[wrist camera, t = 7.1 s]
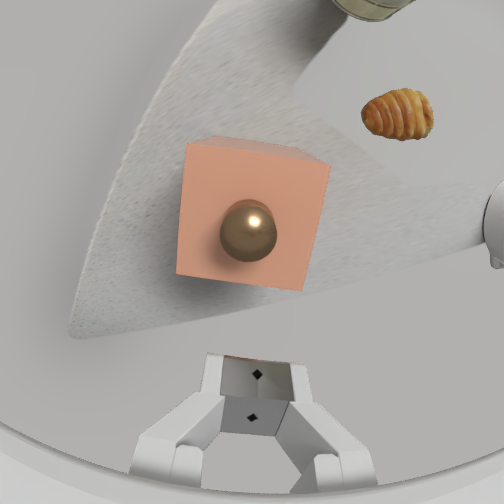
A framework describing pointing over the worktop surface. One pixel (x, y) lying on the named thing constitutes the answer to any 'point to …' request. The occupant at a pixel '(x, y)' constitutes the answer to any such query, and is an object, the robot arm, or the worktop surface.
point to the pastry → (399, 115)
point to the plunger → (248, 231)
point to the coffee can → (371, 8)
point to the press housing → (249, 187)
